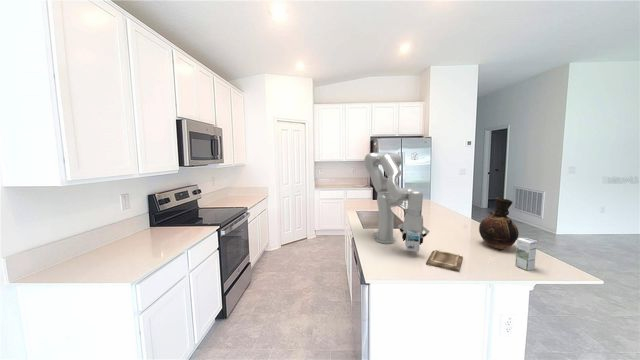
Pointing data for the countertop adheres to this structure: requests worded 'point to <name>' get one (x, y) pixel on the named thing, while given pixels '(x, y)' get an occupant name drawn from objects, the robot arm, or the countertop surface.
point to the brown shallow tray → (445, 260)
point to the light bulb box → (412, 241)
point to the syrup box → (526, 253)
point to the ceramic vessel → (499, 226)
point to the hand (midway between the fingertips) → (412, 241)
